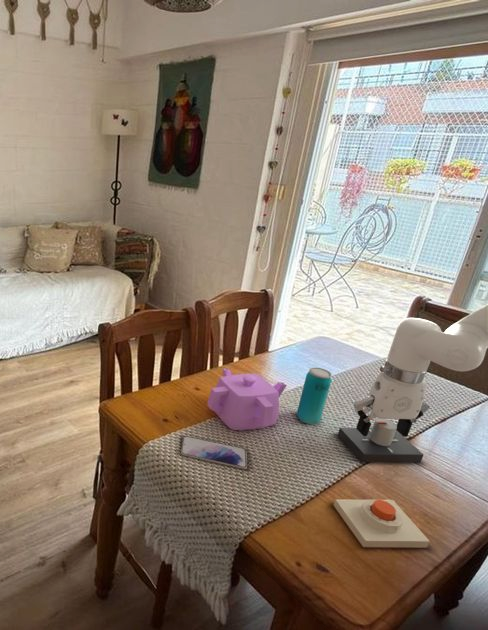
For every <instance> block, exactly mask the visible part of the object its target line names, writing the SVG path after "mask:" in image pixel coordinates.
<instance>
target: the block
mask: <svg viewBox="0 0 488 630" xmlns="http://www.w3.org/2000/svg"><path fill="white" fill-rule="evenodd" d="M375 500H376V499H340V498H339V499H336V498H335V500H334V503H333V507H334V508H335V510H336V511H337V512H338V514H339V515H340V517H341V518H342V520H343V521H344V522H345V524H346V525H347V526H348V528H349V529H350V531H351V532H352V534H353V535H354V536H355V538H356V539H357V541H358V542H359V543H360V545H361V546H362V547H363V548H419V549H421V548H422V549H423V548H426V549H427V548H428V546H429V544H430V540H429V539H428V538H427V536H426V535H425V534H424V533H423V532H422V531H421V530H420V529H419V527H418V526H417V525H416V524H415V523H414V521H412V520H411V519H410V517H409V516H408V515H407V514H406V513H405V512H404V511H403V509H402V508H401V507H400V506H399V505H398V504H397V503H396V501H395V500H394V499H382V500H383V501H386V502H388V503H390V504H391V505H392V506H393V507H394V508H395V509H396V513H395V516H394V518H393V520H391V521H385V520H383V519H380V518H378V517H377V516H375V515H374V514H373V513H372V510H371V509H372V506H373V503H374V501H375Z"/></svg>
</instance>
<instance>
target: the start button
mask: <svg viewBox="0 0 488 630" xmlns="http://www.w3.org/2000/svg"><path fill="white" fill-rule="evenodd" d="M374 500H375V501H374V503H373V506H372V509H371V510H372V513H373V514H374V515H375V516H377V517H378V518H380V519H383V520H385V521H391V520H393V518H394V516H395V513H396V509H395V508H394V507H393V506H392V505H391V504H390V503H388V502H386V501H383V500H384V499H374Z"/></svg>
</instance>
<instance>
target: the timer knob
mask: <svg viewBox="0 0 488 630" xmlns="http://www.w3.org/2000/svg"><path fill="white" fill-rule="evenodd" d="M371 428H372V431H371V434H370V439H371V440H372V441H373V442H374V443H376V444H378V445H382V446H389V445H391V442H392V440H393V437H394V434H395V431H396V429H397V424H396V423H395V422H394V421H392V420H391V419H381V418H378V417H376V418H374V422H373V425H372V427H371Z"/></svg>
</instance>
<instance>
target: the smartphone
mask: <svg viewBox="0 0 488 630" xmlns="http://www.w3.org/2000/svg"><path fill="white" fill-rule="evenodd" d="M180 454H181V456H185V457H188V458H193V459H198V460H202V461H207V462H211V463H214V464H215V463H216V464H219V465H220V464H221V465H223V466H228V467H233V468H238V469H243V470H246V469H248V455H247V450H246V449H245V448H243V447H239V446H234V445H229V444H225V443H220V442H215V441H210V440H206V439H200V438H196V437H191V436H187V435H186V436H183V437H182V442H181V449H180Z"/></svg>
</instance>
